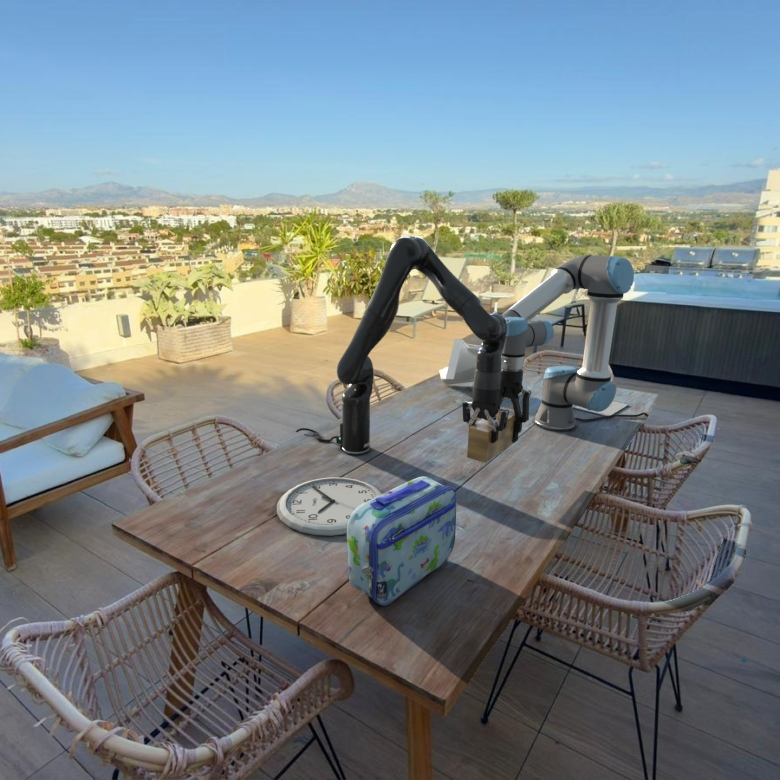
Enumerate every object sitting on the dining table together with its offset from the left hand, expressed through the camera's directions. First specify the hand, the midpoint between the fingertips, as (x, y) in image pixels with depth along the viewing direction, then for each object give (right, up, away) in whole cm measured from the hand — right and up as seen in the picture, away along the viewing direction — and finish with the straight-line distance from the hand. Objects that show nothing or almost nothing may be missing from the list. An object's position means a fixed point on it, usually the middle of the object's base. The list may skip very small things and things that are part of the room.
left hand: (482, 439), depth 153 cm
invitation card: (+64, +7, +73) cm, 98 cm away
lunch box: (-24, -26, -39) cm, 53 cm away
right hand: (+9, -1, +14) cm, 17 cm away
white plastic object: (+14, +13, +90) cm, 92 cm away
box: (+5, -3, +8) cm, 10 cm away
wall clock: (-43, -17, -10) cm, 47 cm away
